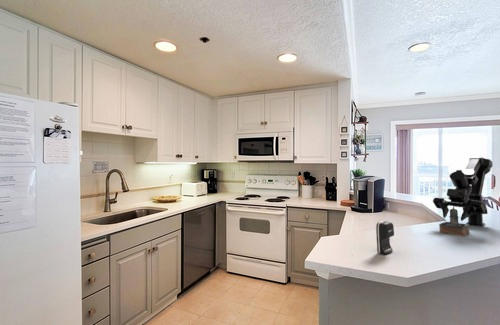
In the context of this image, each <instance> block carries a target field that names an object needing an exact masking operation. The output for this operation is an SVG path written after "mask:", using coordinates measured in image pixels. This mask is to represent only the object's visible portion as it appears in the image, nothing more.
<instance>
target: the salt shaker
mask: <svg viewBox="0 0 500 325" xmlns="http://www.w3.org/2000/svg"><path fill="white" fill-rule="evenodd" d="M458 214H459V212H458V209H455V207H453V206H452V208H451V209H449V216H448V217H449V222H450V223H448V224H446V225H450V226H458V227H462V225H460V224H459V223H460V222H459V218H460V216H458Z"/></svg>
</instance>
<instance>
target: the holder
mask: <svg viewBox="0 0 500 325" xmlns="http://www.w3.org/2000/svg"><path fill="white" fill-rule="evenodd" d="M448 223H450V221H443V222H440V223H439V233H440V234H447V235H448V234H449V235H453V236H460V237H466V236H467V235H468V234H470V224H466V223H460V222H459V224H460V225H462V227H458V226H450V225H446V224H448Z"/></svg>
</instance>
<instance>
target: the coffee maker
mask: <svg viewBox="0 0 500 325" xmlns="http://www.w3.org/2000/svg"><path fill="white" fill-rule="evenodd" d="M375 226H376V227H375V231H376V233H375V234H376V252H377V253H378V254H380V255H381V254H382V255H388V254H390V253H392V252H393V251H394V250H393V248H392V246H391V241H390V239H391V238H392V237H394V236H395V230H394V224H393V222H390V221H386V220H381V221H379V222H377V223H376V225H375Z"/></svg>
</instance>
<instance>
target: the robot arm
mask: <svg viewBox="0 0 500 325" xmlns="http://www.w3.org/2000/svg"><path fill="white" fill-rule="evenodd" d="M492 168H493V161H492V160H491V159H489V158H484V157H482V156H472V157H469V160H468V163H467V165H466V166H465V169H464V170H462V169H456V170H455V171H453V172H451V173H450V174H449V178H450V181H451V183H452V184H453V186H454V187H455V188H447V191H446V196H448V200H445V198H443V197H434V198H433V199H432V203H433V204H434V206H435V207H436V208H437V209H441V211H442V217H443V219H446V217H447V216H448V213H449V212H450V209H449V206H450V207H452V208H453V207H454V208H455V207H456V208H462V214H461V216H460V221H464V220H465V219H467V222H466V223H465V224H469V226H470V225H471V226H478V227H479V226H481V227H484V226H485V225H486V223H485V222H484V220H483V215H488V208H487V206H486V204H485V201H484V200H483V197H482V193H483V188H484V182H485V180H486V179H485V178H486V175H487V174H488V173H489V172H491V169H492Z"/></svg>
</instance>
